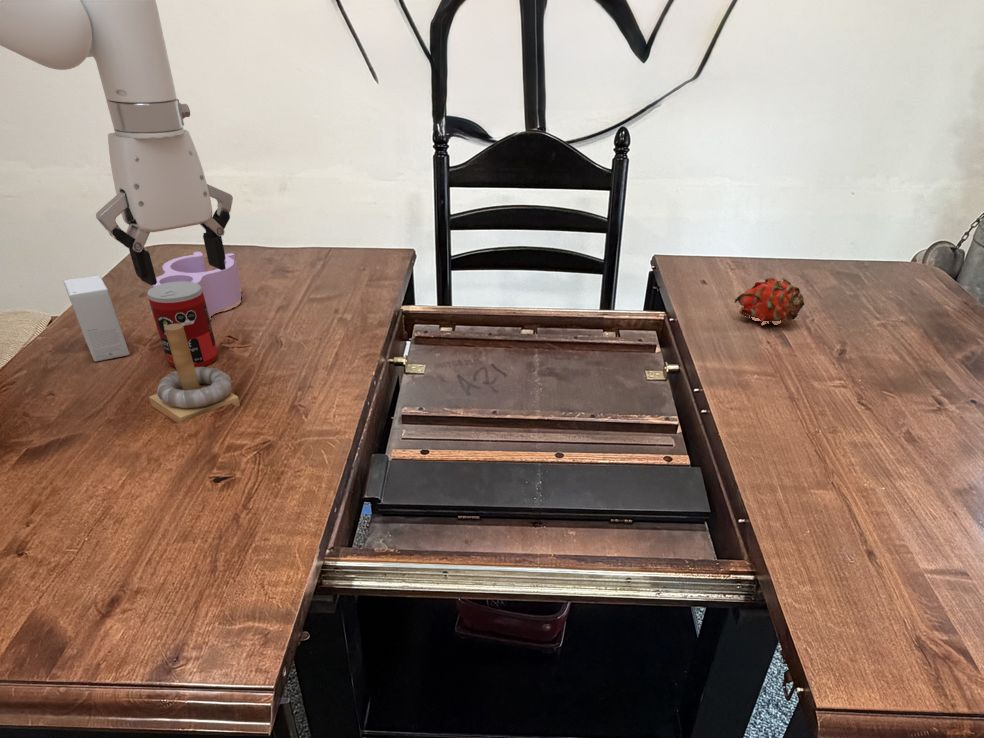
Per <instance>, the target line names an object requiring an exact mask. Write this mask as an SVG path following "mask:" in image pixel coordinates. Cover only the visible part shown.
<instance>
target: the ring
mask: <svg viewBox="0 0 984 738" xmlns="http://www.w3.org/2000/svg"><path fill="white" fill-rule="evenodd" d="M195 371H196V375H197V378H198V382H199V384H208V385H210V386H207V387H204V388H201V389H195V390H179V389H181V388H182V387H181V384H180V380H179V377H178V373H177V370H176V371H172V372H169V374H167V375H165V376H164V377H163V378H161V379H160V380H159V381H158V383H157V389H156V394H157V395H158V397H159V398H160V399H161V400H162V401H164V402H165V403H167V404H168V405H170V406H173V407H180V408H197V407H205V406H208V405H211V404H214V403H217V402H220V401H221V400H223V399H224V398H225V397H226V396H227V395H229V394H230V392H231V393H232V383H233V382H232V378H231V377H230V375H229V374H227V373H226V372H224V371H222V370H220V369H219V368H217V367H215V368H214V367H208V366H204V367H195Z"/></svg>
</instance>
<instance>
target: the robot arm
mask: <svg viewBox="0 0 984 738" xmlns="http://www.w3.org/2000/svg"><path fill="white" fill-rule="evenodd" d="M165 41H166V40H165V37H164V32H163V27H162V23H161V19H160V14H159V8H158V5H157V1H156V0H0V46H1V47H3V48H4V49H6V50H9V51H10V52H13V53H16V54H17V55H20V56H22V57H23V58H26V59H27V60H30V61H32V62H34V63H36V64H38V65H41V66H43V67H46V68H49V69H51V70H58V71H66V70H71V69H75V68H76V67H79V66H80V65H81V64H83V63H84V62H85V60H86V59H87V58H93V59H94V60H95V63H96V68H97V71H98V73H99V75H98V76H99V79H100V82H101V85H102V89H103V93H104V97H105V99H106V100H105V101H106V104H107V108H108V109H107V110H108V112H109V114H110V115H109V116H110V120H111V123H112V127H113V132H109V133H108V134H107V142H108V143H107V144H108V153H109V163H110V167H111V169H110V170H111V174H112V179H113V184H114V190H115V194H116V195H115V196H114V197H113V198H111V199H110V200H109V201H108V202H107V203H106V204H105V205H103V207H100V209H99V210H98V211H97V212H96V213H95V217H96V219H97V220H98V222H99V224H101V226H102V227H103V228H104V229H105V230H106V231H107V232H108V235H110V237H111V238H113V239H114V240H116V241H117V242H118V243H120V244H122V245H123V246H124V247H125V248H127V249H128V250H129V254H130V258H131V261H132V265H133V268H134V272H135V274H136V276H137V277H138V278H140V280H141V281H142V282H144V283H145V284H147V285H149V286H151V285H156V283H157V280H156V277H157V276H156V272H155V269H154V266H153V263H152V257H151V254H150V252H149V251H148V250H145V245H146V243H147V240H148V238H149V236H150V234H151V233H157V232H159V233H160V232H163V231H169V230H175V229H181V228H186V227H193V226H197V225H200V227H202V228H203V229H204V230H205V232H203V233H202V234H203V235H202V238H203V242H204V243H203V244H204V248H205V251H206V257H207V262H208V265H209V266H211V267H214V268H215V269H220V270H224V269H226V267H225V262H224V260H225V254H226V253H225V248H224V243H223V238H222V237H223V236H224V235H225V228H226V226H227V225H228V222H229V221H230V219H231V214H230V213H231V211H232V205H233V200H234V199H233V198H234V197H233V195H232V194H230V193H229V192H226V191H224V190H222V189H220V188H217V187H215V186H212V185H210V184H208V183H207V180H206V175H205V173H204V170H203V165H202V162H201V160H200V157H199V154H198V151H197V149H196V146H195V144H194V141H193V138H192V137H191V133H190V132H189V130H187V129H184V126H185V123H184V119H185V118H190V117H191V110H190V107H189V105H188V104H187V103H182V102H180V99H178V98H177V93H176V88H175V83H174V79H173V74H172V73H173V72H172V69H171V64H170V59H169V55H168V50H167V47H166V42H165ZM211 198H212V199H214V200H215V201H217V206H216V208H217V209H215V211H214V213H213V206H212V200H211ZM120 215H121V217H122V220H123V221H124V223H125V224H126V225H128V227H127V229H126V232H125V230H122V228H120V226H119V224H118V223H117V220H116V219H117V217H118V216H120Z"/></svg>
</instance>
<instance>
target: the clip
mask: <svg viewBox="0 0 984 738" xmlns="http://www.w3.org/2000/svg"><path fill="white" fill-rule="evenodd" d="M224 262H225V267H226V269H224V270H220V269H218V268H215V269H214V270H208V271H207V267H206V263H205V258H204V254H203V253H202V251H194V252H193V253H192V254H189V255H184V256H179V257H175V258H173V259H170V260H167V261H166V262H165V263H163V264H162V265H161V266H162V267H161V268H162V271H163V274H160V275H159V276H156V280H157V283H156V285H150V286H151V288H153V287H155V286H157V285H160V284H163V283H168V282H177V281H187V282H194V283H197V284H199V285H200V286H201V288H202V290H203V294H204V298H205V302H206V306H207V310H208V314H209V318H210V317H211V315H212V314H213V313H214V312H216V311H218V310H221V309H224V308H227V307H230V306H232V305H234V304H236V303H237V302H238V301H239V300H240V299H241V296H242V293H241V291H240V287H241V288H242V284H241V279H240V275H239V269H238V264H237V260H236V255H235V253H233V252H230V253H225V260H224Z"/></svg>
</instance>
